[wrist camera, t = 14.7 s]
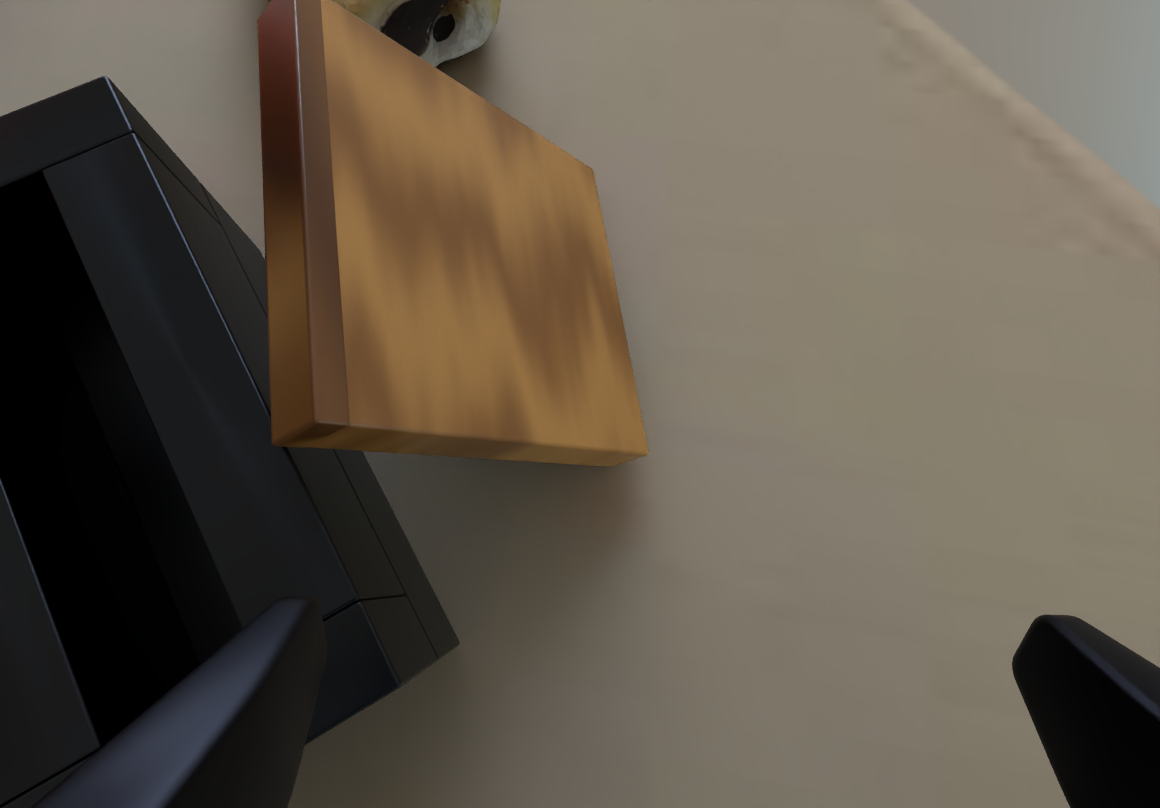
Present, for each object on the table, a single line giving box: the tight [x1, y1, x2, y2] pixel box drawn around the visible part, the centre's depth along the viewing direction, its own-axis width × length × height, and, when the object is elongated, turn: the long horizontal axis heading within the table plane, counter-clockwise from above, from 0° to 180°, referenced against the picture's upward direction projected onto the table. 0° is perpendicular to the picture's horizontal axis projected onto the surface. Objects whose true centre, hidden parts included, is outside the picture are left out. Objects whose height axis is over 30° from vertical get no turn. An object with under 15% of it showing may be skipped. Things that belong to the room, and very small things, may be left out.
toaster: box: [0, 76, 459, 808], centre depth 14 cm, size 13×11×7 cm
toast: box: [257, 0, 649, 467], centre depth 15 cm, size 9×1×10 cm
